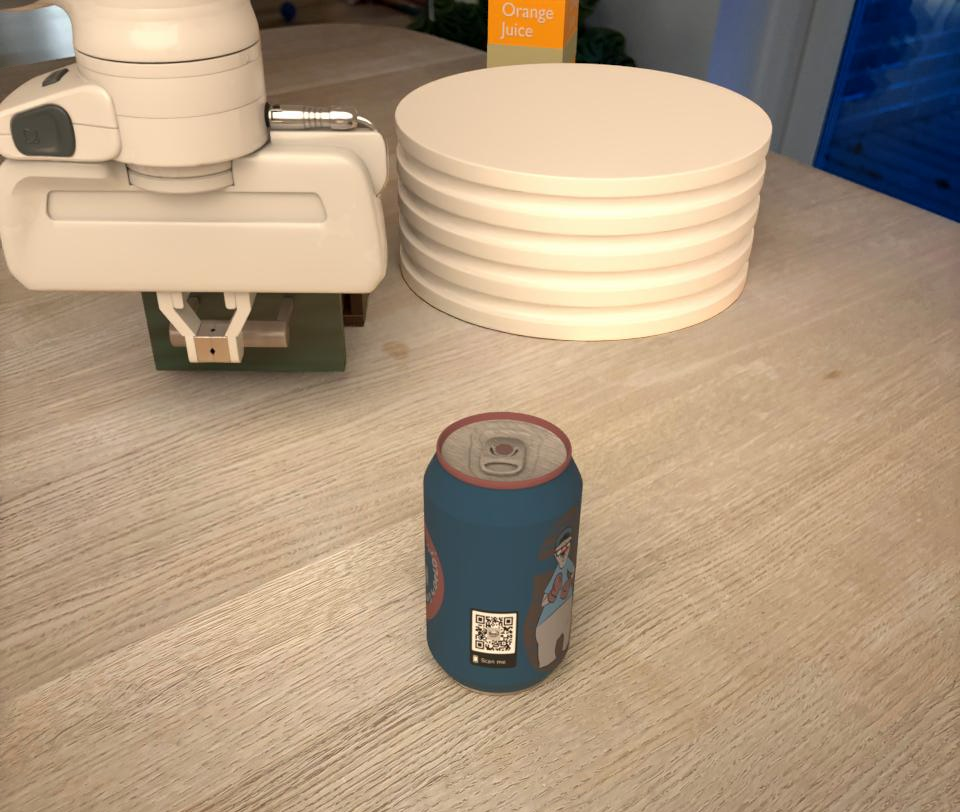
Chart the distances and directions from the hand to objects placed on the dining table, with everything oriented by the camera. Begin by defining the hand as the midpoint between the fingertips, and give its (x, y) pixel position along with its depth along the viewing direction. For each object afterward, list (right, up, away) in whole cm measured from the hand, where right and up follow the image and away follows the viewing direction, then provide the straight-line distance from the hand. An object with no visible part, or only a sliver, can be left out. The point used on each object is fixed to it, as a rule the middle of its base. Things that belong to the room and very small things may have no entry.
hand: (217, 358), depth 65 cm
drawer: (0, +5, +13) cm, 14 cm away
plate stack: (+23, +14, +27) cm, 38 cm away
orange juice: (+21, +38, +54) cm, 69 cm away
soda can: (+16, -17, -10) cm, 26 cm away
